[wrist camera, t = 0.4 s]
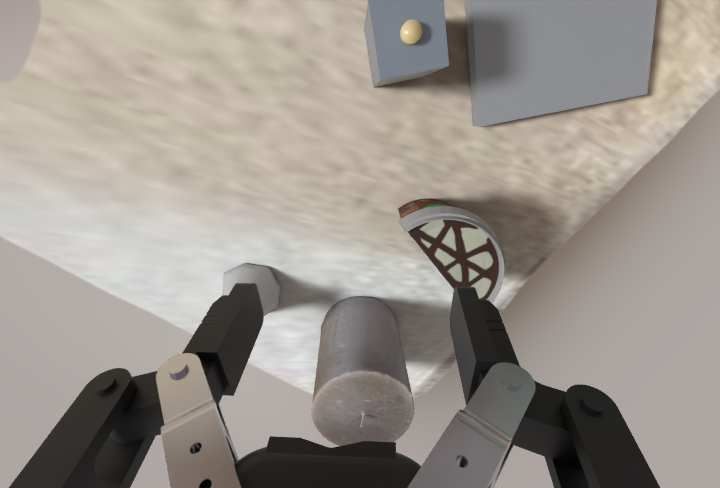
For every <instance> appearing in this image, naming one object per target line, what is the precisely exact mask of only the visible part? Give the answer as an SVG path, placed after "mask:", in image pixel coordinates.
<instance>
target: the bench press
mask: <svg viewBox="0 0 720 488" xmlns="http://www.w3.org/2000/svg"><path fill="white" fill-rule="evenodd" d="M656 6H657V0H465V11H466V26H467V41H468V57H469V72H470V87H471V103H472V118H473V126H476V127H482V126H487V125H492V124H497V123H502V122H507V121H513V120H518V119H523V118H528V117H533V116H538V115H543V114H548V113H553V112H558V111H564V110H569V109H574V108H579V107H584V106H589V105H594V104H599V103H604V102H609V101H615V100H620V99H625V98H630V97H635V96H640V95H645V94H647V91H648V81H649V72H650V62H651V53H652V44H653V34H654V25H655V15H656Z"/></svg>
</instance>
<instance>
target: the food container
mask: <svg viewBox="0 0 720 488" xmlns="http://www.w3.org/2000/svg"><path fill="white" fill-rule="evenodd" d="M398 210H399V214H400V217H401V219H400V220H399V222H400V224H401V226H402V228H403V229H404V231H405V233H406V232H408V233H409V234H410V235H411V237H412V238H413V239H414V240H415V241H416V242H417V243H418V245H419V246H420V247H421V249H422V250H423V251H424V252H425V254H426V255H427V256H428V257H429V259H430V260H431V261H432V262H433V264H434V265H435V266H436V267H437V269H438V270H439V271H440V273H441V274H442V275H443V276H444V277H445V279H446V280H447V281H448V282H449V283H450V285H451V286H452V287H453V289H454V288H455V287H475V288H476V291H477V294H478V297H479V300H489V301H490V302H491V303H493V302H494V301H495V299H496V297H497V296H498V294H499V292H500V289H501V286H502V283H503V278H504V268H505V262H504V255H503V252H502V249H501V246H500V243H499V241H498V238H497V236H496V235H495V233H494V231H493V230H492V228H491V227H490V226H489V225H488V224H487V223H486V222H485V221H484V220H483V219H481V218H480V217H479V216H477V215H476V214H474V213H472V212H470V211H467V210H464V209H462V208H457V207H452V206H450V205H448V204H446V203H445V202H442V201H439V200H435V199H419V200H415V201H412V202H409V203H407V204H405V205H403V206H402V207H400V208H399V209H398Z"/></svg>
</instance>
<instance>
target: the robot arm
mask: <svg viewBox="0 0 720 488" xmlns="http://www.w3.org/2000/svg"><path fill="white" fill-rule="evenodd" d="M263 317H264V314H263V308H262V304H261V300H260V296H259V292H258V288H257V285H256V284H255V283H236V284H235V285H234V287H233V288H232V290H231V292H230V294H229V295H223V296H221V297H220V298H219V299H218V300H217V301H216V302H214V303H213V304H212V306H211V307H210V309H209V311H208V312H207V316H205V317H204V319H203V321H202V324H200V325H199V327H198V329H197V330H196V332H195V334H194V335H193V337H192V339H191V340H190V342H189V344H188V345H187V347H186V348H185V350H184V352H183V353H182V354H179V355H176V356H174V357H172V358H170V359H169V360H168V361H166V362H165V363H164V364H163V365H162V366H161V367H160V368H159V370H158V371H156V372H152V373H148V374H143V375H139V376H135V377H132V376H131V375H130V373H129V372H128V371H127V370H126V369H122V368H116V369H112V370H108V371H106V372H103V373H101V374H99V375H98V376H96V377H95V378H94V379H92V380H91V381H90V382H89V383H88V384H87V385H86V386H85V388H84V389H83V390H82V392H81V393H80V394H79V396H78V397H77V398H76V400H75V401H74V403H73V404H72V405H71V406H70V408H69V409H68V410H67V412H66V413H65V414H64V416H63V417H62V418H61V420H60V421H59V422H58V423H57V425H56V426H55V427H54V429H53V430H52V431H51V433H50V434H49V435H48V437H47V438H46V439H45V441H44V442H43V443H42V445H41V446H40V447H39V449H38V450H37V451H36V453H35V454H34V455H33V457H32V458H31V459H30V460H29V462H28V463H27V464H26V466H25V467H24V469H23V470H22V471H21V472H20V474H19V475H18V476H17V478H16V479H15V480H14V482H13V483H12V484H11V486H10V487H9V488H130V487H131V484H132V483H133V481H134V478H135V476H136V474H137V472H138V470H139V468H140V466H141V464H142V462H143V460H144V458H145V456H146V454H147V452H148V450H149V448H150V446H151V444H152V442H153V440H154V438H155V436H156V435H160V434H161V435H162V441H163V447H164V452H165V458H166V463H167V469H168V474H169V480H170V486H171V488H494V486H495V484H496V482H497V480H498V477H499V475H500V473H501V471H502V469H503V467H504V465H505V463H506V461H507V459H508V457H509V454H510V452H511V450H512V448H513V446H514V445H515V446H518V447H521V448H524V449H526V450H529V451H531V452H534V453H537V454H540V455H542V456H545V459H546V462H547V466H548V469H549V472H550V476H551V479H552V482H553V485H554V488H660V486H659V485H658V483H657V481H656V479H655V477H654V475H653V473H652V471H651V469H650V468H649V466H648V464H647V462H646V460H645V458H644V456H643V454H642V453H641V451H640V449H639V447H638V445H637V443H636V441H635V439H634V437H633V436H632V434H631V432H630V430H629V428H628V426H627V425H626V422H625V421H624V419H623V417H622V415H621V413H620V411H619V409H618V407H617V406H616V404H615V403H614V402H613V401H612V399H611V398H610V397H608V396H607V395H606V394H605V393H603V392H602V391H600V390H598V389H596V388H593V387H591V386H587V385H574V386H571V387H570V388H569V389H568V390H567V392H564V391H561V390H558V389H554V388H551V387H548V386H545V385H542V384H540V383H538V382H536V381H534V380H533V378H532V377H531V375H530V374H529V373H528V372H527V371H526V370H524V369H523V368H521V367H520V365H519V363H518V360H517V358H516V355H515V352H514V350H513V347H512V345H511V342H510V340H509V337H508V334H507V332H506V330H505V326H504V324H503V323H502V319H501V316H500V313H499V311H498V309H497V308H496V307H495V306H494V305H493V304H492V303H491V302H490V301H489V300H479V297H478V294H477V291H476V288H475V287H455V288H454V293H453V300H452V307H451V313H450V328H451V334H452V339H453V344H454V348H455V353H456V358H457V362H458V367H459V372H460V377H461V382H462V387H463V392H464V397H465V401H466V405H467V406H466V407H465V409H464V410H463V411H462V410H459V411H458V412H457V413H456V415H455V416H454V418H453V419H452V421H451V422H450V424H449V425H448V427H447V428H446V430H445V431H444V433H443V434H442V436H441V437H440V439H439V440H438V442H437V443H436V445H435V447H434V448H433V449H432V451H431V453H430V454H429V456H428V457H427V459H426V460H425V462H424V463H423V465H422V466H420V465H419V464H418V463H416V462H415V461H413V460H412V459H410V458H408V457H406V456H404V455H402V454H399V453H396V443H395V442H377V441H361V442H357V443H353V444H348V445H344V446H339V447H335V448H328V447H325V446H322V445H319V444H316V443H313V442H311V441H308V440H305V439H302V438H291V437H270V438H269V442H268V445H267V447H265V448H262V449H259V450H256V451H254V452H252V453H250V454H248V455H246V456H245V457H243V458H241V459H240V460H239V459H238V456H237V454H236V451H235V449H234V446H233V443H232V440H231V437H230V434H229V432H228V428H227V426H226V423H225V420H224V417H223V414H222V411H221V408H220V406H219V401H220V400H221V397H222V395H232V396H233V395H234V393H235V391H236V388H237V386H238V383H239V381H240V378H241V376H242V373H243V371H244V369H245V366H246V364H247V361H248V359H249V356H250V354H251V351H252V349H253V347H254V344H255V342H256V339H257V337H258V334H259V332H260V329H261V327H262V324H263Z"/></svg>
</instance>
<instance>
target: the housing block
mask: <svg viewBox="0 0 720 488" xmlns="http://www.w3.org/2000/svg"><path fill="white" fill-rule="evenodd" d="M364 31H365V37H366V43H367V50H368V56H369V62H370V69H371V75H372V81H373V87H378V86H383V85H387V84H392V83H397V82H402V81H407V80H412V79H417V78H421V77H425V76H427V75H429V74H432V73H434V72H436V71H438V70H441V69H443V68H445V67H448V66H449V59H448V47H447V35H446V23H445V12H444V0H368V5H367V13H366V21H365V29H364Z"/></svg>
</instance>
